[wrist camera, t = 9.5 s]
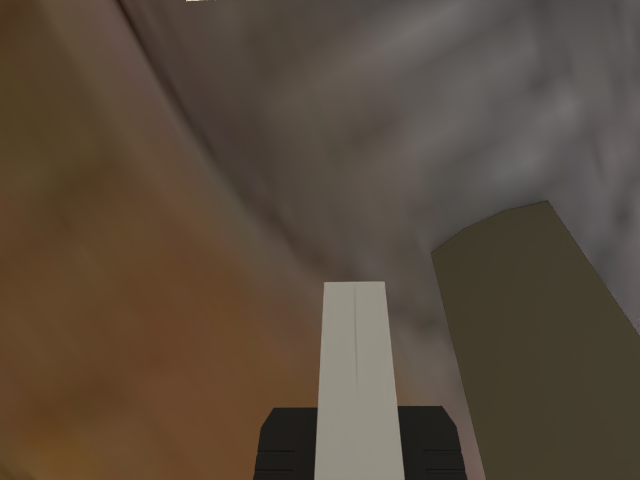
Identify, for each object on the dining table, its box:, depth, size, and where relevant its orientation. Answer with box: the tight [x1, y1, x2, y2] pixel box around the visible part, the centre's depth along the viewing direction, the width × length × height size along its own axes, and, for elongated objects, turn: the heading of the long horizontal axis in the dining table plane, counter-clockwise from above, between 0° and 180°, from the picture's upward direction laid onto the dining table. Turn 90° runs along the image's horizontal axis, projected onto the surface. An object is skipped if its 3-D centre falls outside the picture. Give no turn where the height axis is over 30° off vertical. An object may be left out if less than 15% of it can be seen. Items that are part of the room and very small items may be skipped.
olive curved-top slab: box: [431, 201, 640, 480], centre depth 35 cm, size 22×9×28 cm, turn 31°
